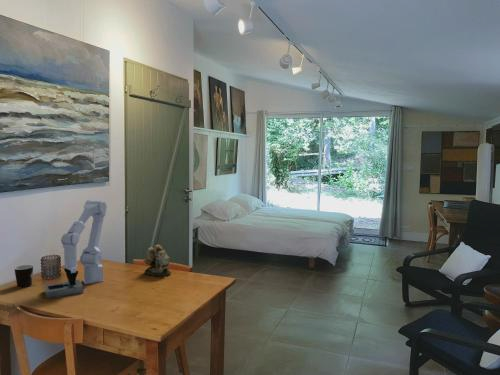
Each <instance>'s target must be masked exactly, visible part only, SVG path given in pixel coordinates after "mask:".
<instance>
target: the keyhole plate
mask: <svg viewBox="0 0 500 375" xmlns="http://www.w3.org/2000/svg"><path fill="white" fill-rule="evenodd" d="M44 294H45V295H46V299H47V300H50V299H56V298H61V297H67V296H73V295H79V294H84V285H83V284H82V282H81V280H80V279H76V281H75V285H72V286H68V281H61V282H55V283H49V284H44Z"/></svg>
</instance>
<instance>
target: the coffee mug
mask: <svg viewBox="0 0 500 375" xmlns="http://www.w3.org/2000/svg"><path fill="white" fill-rule="evenodd" d="M14 274H15V279H16V280H15V282H16V285H17V288H19V289H25V288H29V287H31V286H32V284H33V274H34V265H33V264H24V265H23V264H22V265H18V266H15V267H14Z"/></svg>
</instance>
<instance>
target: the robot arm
mask: <svg viewBox="0 0 500 375" xmlns="http://www.w3.org/2000/svg"><path fill="white" fill-rule="evenodd" d="M107 208H108V206H107V203H106V201H104V200H92V199H91V200H90V199H88V200H87V201H85V203H84V204H83V211H82V213H81V215H80V217H79V218H78V220H77V221H74V222H73V223H72V224H71V227H69V230H68V231H67V232H66V233H64V234H62V236H61V239H60V242H61V244H62V248H63V254H64V265H63V266H61V268H62V269H63V270H64V272H65V274H66V278H67V280H68V279H69V284H70V285H75V281H76V280H77V276H78V274H79V270H77V268H78V266H79V265H78V254H77V253H78V251H77V250H78V248H77V245H78V243H79V242H80V237H81V234H82V232H83V231H84V229H86V228H85V227H86V226H85V224H86V223H87V221H88V220H89V219H90V218H91V217H92V218H93V219H92V222H91V229H90V233H89V238H88V243H87V246H86V247H85V248H84V249H83V250H82V252H81V255H80V257H79V262H80V263H81V264H82V266H83V278H82V282H83V283H84V284H85V285H88V284H95V283H101V282H104V266H103V264H102V263H101V262H102V260H103V257H102V254H103V252H102V250H101V249H100V248H99V244H100V239H101V234H102V228H103V223H104V220H105V219H104V218H105V217H106V213H107V212H106V211H107Z"/></svg>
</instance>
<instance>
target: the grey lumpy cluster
mask: <svg viewBox="0 0 500 375" xmlns="http://www.w3.org/2000/svg"><path fill="white" fill-rule="evenodd" d="M143 262H144V263H145V264H146V265H148V267H147V268H146V269H145V270H144V275H145V274H146V275H145V276H148V277H151V276H153V277H152V278H164V276H167V277H169V276H168V275H170V274H171V275H172V271H171V270H169V265H170V256H168V254H167V253H166V250H165V249H163V247H162V246H161V244H156V245H154V246H153V247H152V246H151V247H148V248H147V253H146V256H145V259H143ZM171 275H170V276H171Z"/></svg>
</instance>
